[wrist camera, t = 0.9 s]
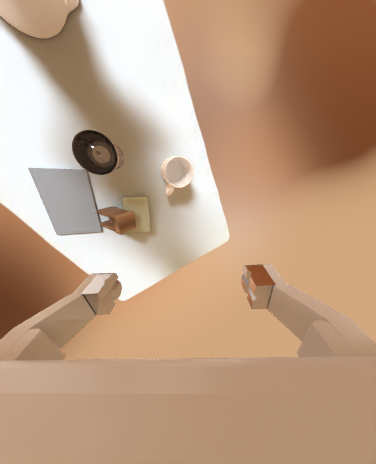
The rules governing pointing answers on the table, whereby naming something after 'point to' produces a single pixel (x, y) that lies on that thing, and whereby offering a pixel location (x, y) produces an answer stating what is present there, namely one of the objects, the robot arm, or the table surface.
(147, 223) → the pale olive rectangular block
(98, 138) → the wine glass
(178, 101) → the table surface
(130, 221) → the stool
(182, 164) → the mug
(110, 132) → the table surface
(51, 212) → the mat
